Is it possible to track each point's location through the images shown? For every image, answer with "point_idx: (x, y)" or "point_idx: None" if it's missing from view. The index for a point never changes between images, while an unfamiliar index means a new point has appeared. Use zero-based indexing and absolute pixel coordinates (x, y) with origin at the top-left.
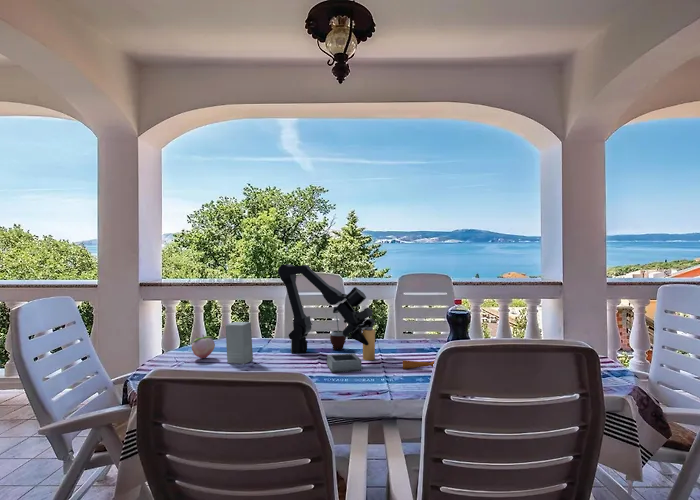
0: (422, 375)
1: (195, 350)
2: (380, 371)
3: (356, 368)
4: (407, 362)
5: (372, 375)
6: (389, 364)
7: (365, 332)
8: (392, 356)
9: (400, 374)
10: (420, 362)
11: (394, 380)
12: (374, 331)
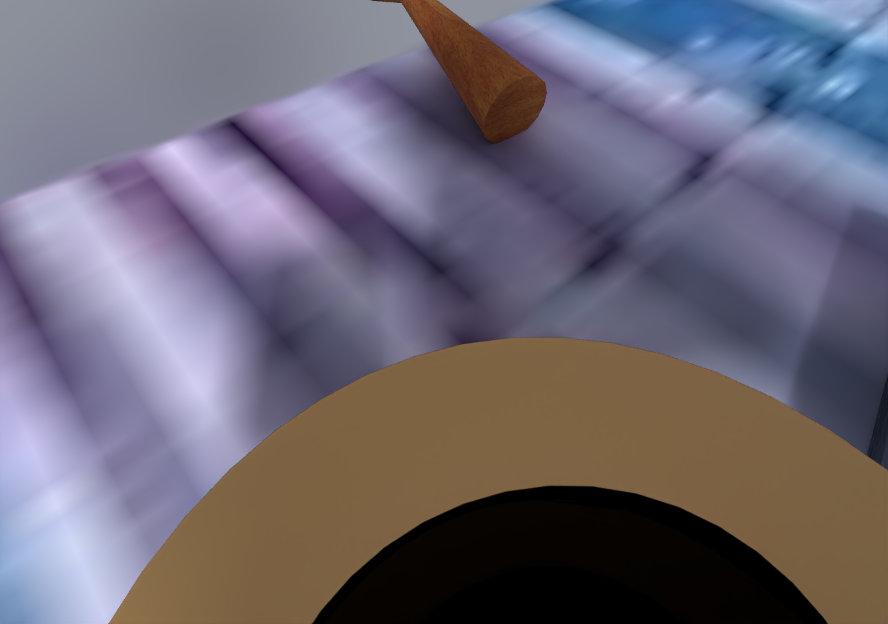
0: (547, 12)
1: None
2: (731, 191)
3: None
4: (513, 58)
5: (865, 168)
6: (497, 264)
7: None
8: (179, 440)
9: (646, 79)
10: (448, 10)
11: (775, 41)
12: (422, 378)
